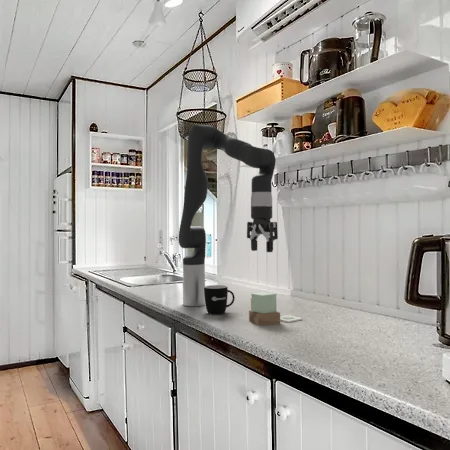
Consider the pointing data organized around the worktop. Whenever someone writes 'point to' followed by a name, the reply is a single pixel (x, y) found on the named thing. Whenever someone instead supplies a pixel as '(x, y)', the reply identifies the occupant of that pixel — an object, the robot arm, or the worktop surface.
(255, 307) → the sage cube
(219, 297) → the mug
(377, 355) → the worktop surface
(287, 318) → the tile
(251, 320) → the walnut block
